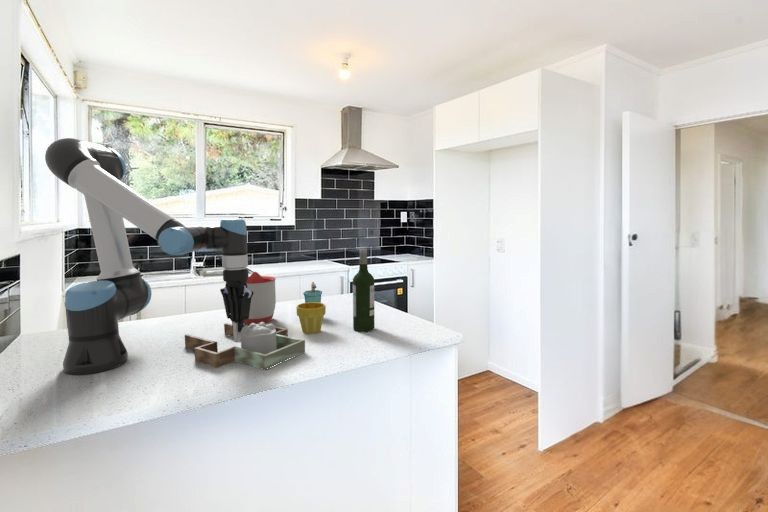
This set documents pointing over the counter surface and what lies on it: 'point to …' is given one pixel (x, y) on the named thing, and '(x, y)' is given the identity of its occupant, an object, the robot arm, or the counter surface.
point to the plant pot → (311, 316)
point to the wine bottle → (363, 297)
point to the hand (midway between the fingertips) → (238, 340)
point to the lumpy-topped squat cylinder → (259, 338)
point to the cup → (312, 294)
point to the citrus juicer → (261, 298)
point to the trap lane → (244, 350)
